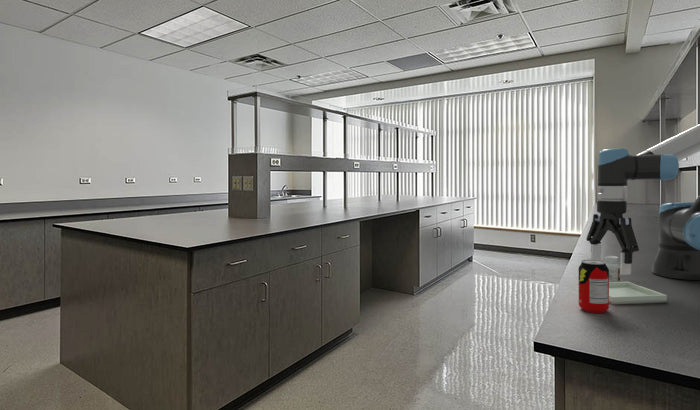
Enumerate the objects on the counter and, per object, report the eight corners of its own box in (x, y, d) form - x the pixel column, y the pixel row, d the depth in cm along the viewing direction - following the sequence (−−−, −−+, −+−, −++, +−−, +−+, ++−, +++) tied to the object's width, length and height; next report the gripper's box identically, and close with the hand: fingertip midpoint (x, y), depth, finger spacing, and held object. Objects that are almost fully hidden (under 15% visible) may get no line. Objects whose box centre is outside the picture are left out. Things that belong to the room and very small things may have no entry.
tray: (627, 287, 115) (627, 281, 115) (666, 302, 101) (667, 295, 101) (579, 289, 115) (579, 283, 115) (612, 304, 101) (612, 297, 101)
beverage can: (606, 307, 99) (607, 259, 98) (610, 315, 93) (610, 264, 92) (577, 304, 102) (577, 258, 101) (579, 312, 96) (579, 263, 95)
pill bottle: (622, 283, 120) (623, 258, 119) (606, 283, 121) (606, 258, 120) (616, 280, 124) (616, 255, 124) (600, 279, 125) (600, 255, 124)
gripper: (575, 198, 133) (574, 261, 135) (628, 202, 108) (626, 279, 110) (597, 198, 133) (596, 260, 135) (656, 202, 109) (653, 279, 110)
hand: (609, 269), depth 122 cm, fingers open, 13 cm apart
